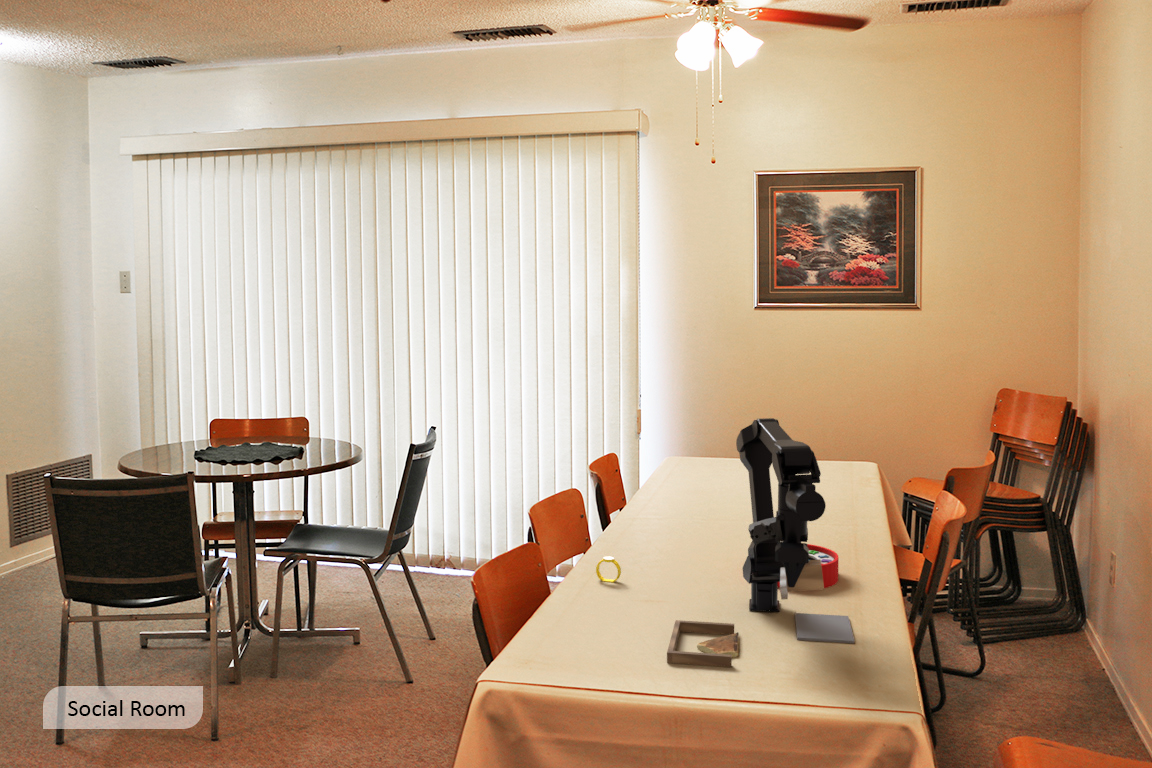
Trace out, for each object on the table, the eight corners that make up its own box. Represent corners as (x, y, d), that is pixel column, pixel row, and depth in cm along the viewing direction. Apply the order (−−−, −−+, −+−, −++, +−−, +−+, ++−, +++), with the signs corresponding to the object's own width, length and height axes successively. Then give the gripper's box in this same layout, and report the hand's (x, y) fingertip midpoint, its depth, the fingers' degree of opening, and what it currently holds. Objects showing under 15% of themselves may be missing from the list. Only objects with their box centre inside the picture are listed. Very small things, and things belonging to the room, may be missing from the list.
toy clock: (786, 538, 233) (855, 554, 218) (786, 560, 234) (854, 578, 219) (737, 553, 220) (806, 572, 205) (737, 576, 221) (806, 597, 206)
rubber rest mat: (795, 615, 194) (795, 612, 194) (848, 618, 191) (848, 615, 191) (797, 639, 180) (797, 637, 180) (854, 643, 178) (854, 641, 178)
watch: (621, 582, 218) (622, 558, 218) (617, 585, 216) (619, 561, 215) (598, 577, 221) (599, 554, 220) (594, 581, 218) (595, 557, 217)
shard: (738, 639, 182) (738, 630, 182) (763, 652, 176) (764, 643, 176) (695, 650, 177) (695, 641, 177) (720, 664, 170) (720, 654, 170)
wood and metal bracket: (782, 579, 186) (779, 555, 186) (822, 576, 184) (819, 552, 184) (781, 599, 175) (778, 574, 174) (824, 596, 173) (821, 571, 172)
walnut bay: (675, 629, 187) (675, 620, 186) (734, 633, 184) (734, 623, 184) (667, 662, 170) (666, 652, 170) (731, 667, 168) (731, 656, 167)
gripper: (753, 494, 189) (752, 566, 191) (748, 518, 171) (748, 597, 173) (808, 497, 186) (806, 570, 188) (809, 521, 168) (807, 601, 170)
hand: (791, 583), depth 180 cm, fingers closed on wood and metal bracket, 3 cm apart
